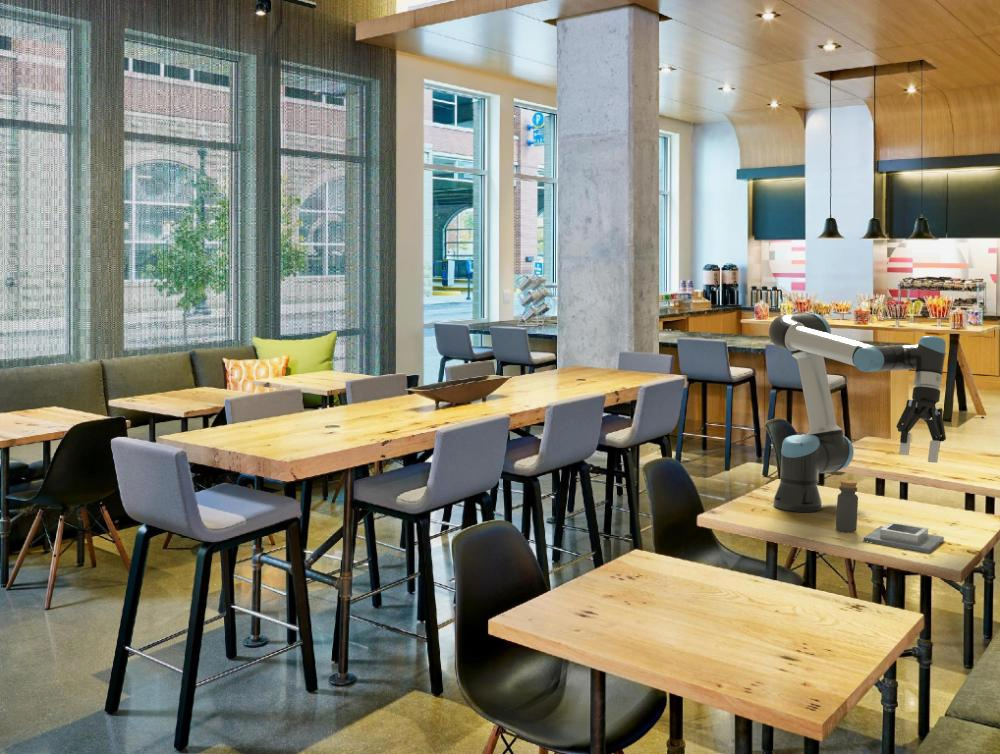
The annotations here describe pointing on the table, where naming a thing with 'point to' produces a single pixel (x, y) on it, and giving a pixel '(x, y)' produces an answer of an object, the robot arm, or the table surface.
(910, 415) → the robot arm
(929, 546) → the collar plate
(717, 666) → the table surface
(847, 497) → the bottle
